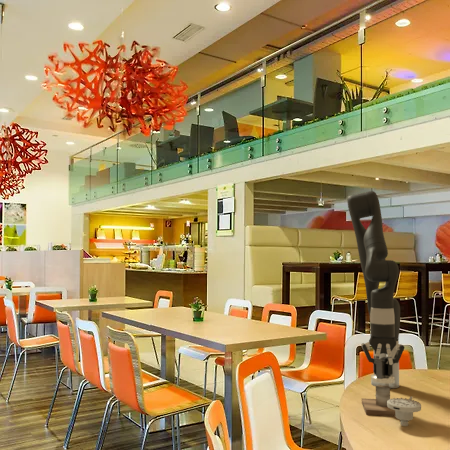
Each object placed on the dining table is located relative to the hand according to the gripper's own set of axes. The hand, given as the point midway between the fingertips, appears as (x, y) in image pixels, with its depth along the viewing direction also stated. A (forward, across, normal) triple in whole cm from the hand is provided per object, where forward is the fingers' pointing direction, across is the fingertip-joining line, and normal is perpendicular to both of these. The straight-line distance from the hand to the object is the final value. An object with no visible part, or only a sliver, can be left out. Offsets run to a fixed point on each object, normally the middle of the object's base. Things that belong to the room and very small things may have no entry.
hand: (383, 375), depth 162 cm
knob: (+3, 0, 0) cm, 3 cm away
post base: (+11, 0, 0) cm, 11 cm away
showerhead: (+11, +3, -14) cm, 18 cm away
